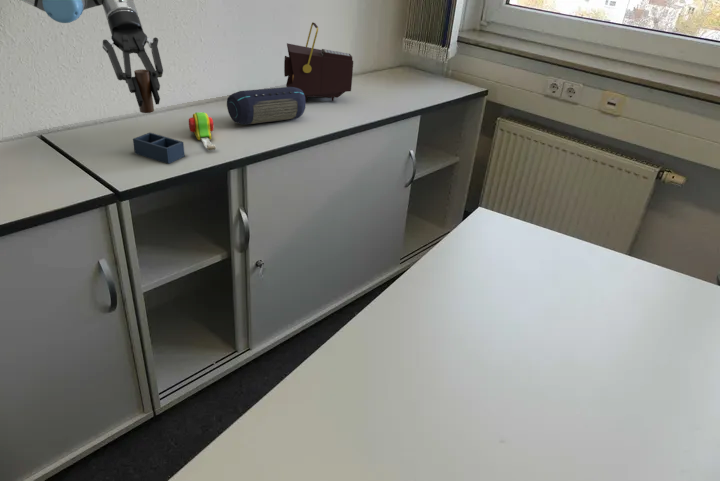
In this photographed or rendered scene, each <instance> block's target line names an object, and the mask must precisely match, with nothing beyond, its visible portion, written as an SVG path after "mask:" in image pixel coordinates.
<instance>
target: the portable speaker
mask: <svg viewBox="0 0 720 481" xmlns="http://www.w3.org/2000/svg"><path fill="white" fill-rule="evenodd" d="M306 102H307V101H305V95H304V93H303V91H302V90H301V89H299V88H295V87H286V86H285V87H274V88H273V87H272V88H271V87H270V88H261V89H247V90H239V91H237V92H234V93H231V94H230V95H229V96H228V97H227V99H226V108H227V112H228V115H229V117H230V118H231V120H232V121H233V122H234V123H235V124H238V125H254V124H262V123H270V122H271V123H272V122H278V121H279V122H280V121H288V120H296V119H299V118H300V117H301V116H303V114H304V113H305V110H306V106H307V105H306Z"/></svg>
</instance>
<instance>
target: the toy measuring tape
mask: <svg viewBox="0 0 720 481" xmlns="http://www.w3.org/2000/svg"><path fill="white" fill-rule="evenodd" d="M214 127H215V126H214V120H213V118H212V116H209V115H208V113H207V112H204V111H203V112H201V111H199V112H195V113H193V114H192V116H191V117H189V118H188V129H189V132H190V133H193V134H194V136H195V138H196V139H197V141H201V142H202V144H203V146H204V148H205V149H206V150H207V151H215V150H216V148H217V146H216V144H213V143H212V142H211V141H210V140H212V133H211V132H213V131H214Z"/></svg>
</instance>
